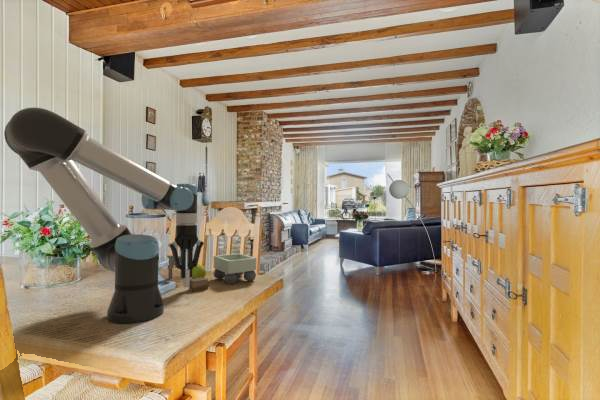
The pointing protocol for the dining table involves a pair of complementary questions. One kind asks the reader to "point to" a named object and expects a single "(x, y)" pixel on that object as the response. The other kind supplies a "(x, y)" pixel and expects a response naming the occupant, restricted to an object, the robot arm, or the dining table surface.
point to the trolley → (234, 267)
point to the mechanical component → (171, 265)
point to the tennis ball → (198, 272)
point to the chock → (198, 284)
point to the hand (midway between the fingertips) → (186, 286)
